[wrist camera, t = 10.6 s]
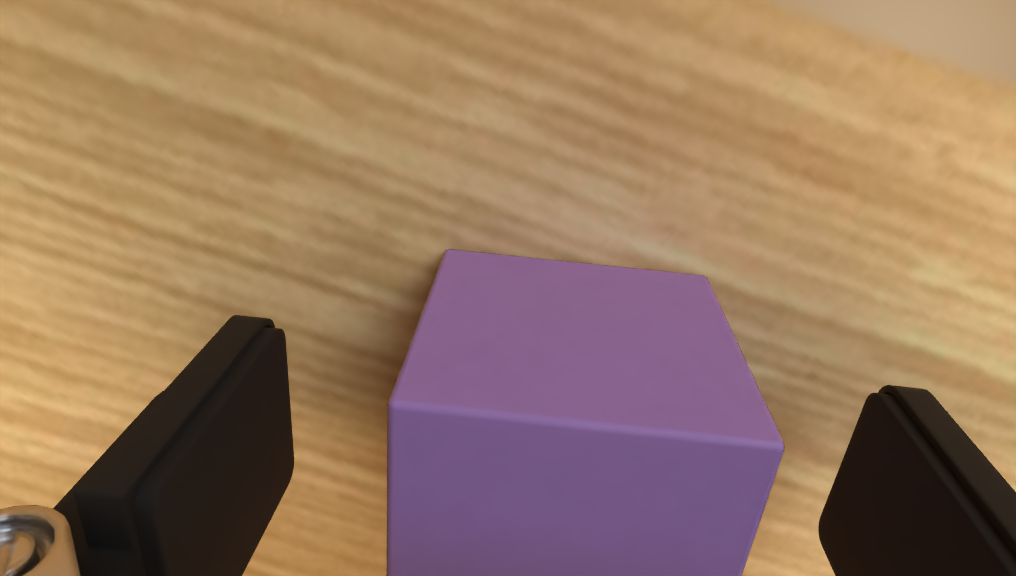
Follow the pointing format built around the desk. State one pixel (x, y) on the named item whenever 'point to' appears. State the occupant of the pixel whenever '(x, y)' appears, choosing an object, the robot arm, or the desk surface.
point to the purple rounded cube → (574, 426)
